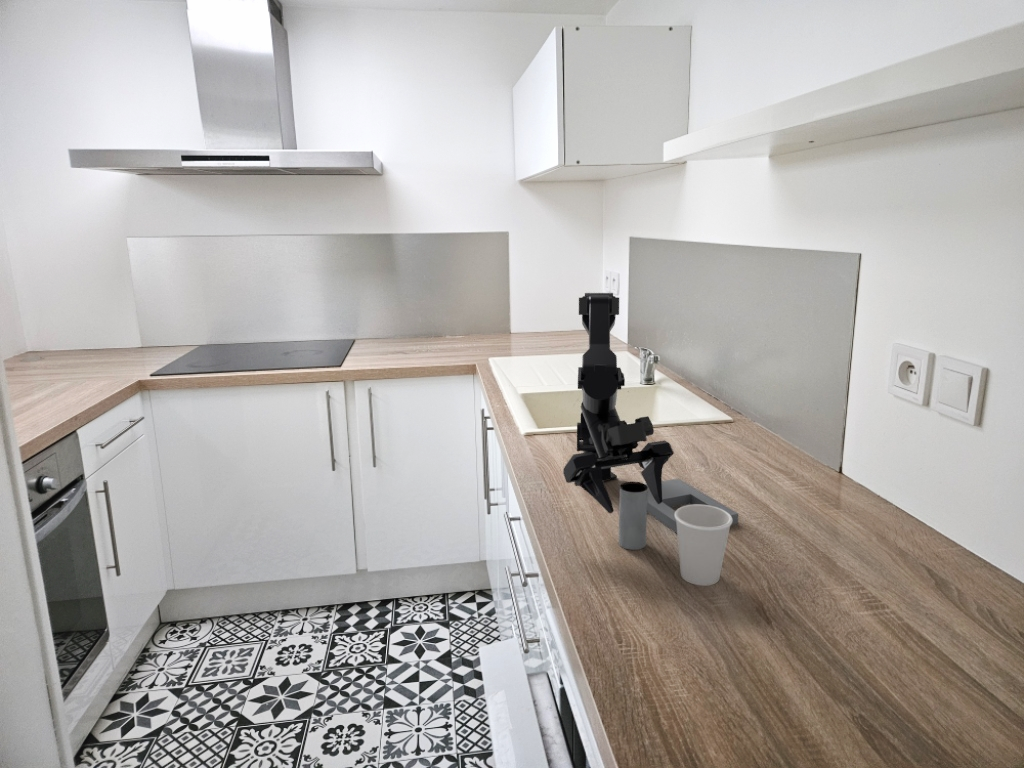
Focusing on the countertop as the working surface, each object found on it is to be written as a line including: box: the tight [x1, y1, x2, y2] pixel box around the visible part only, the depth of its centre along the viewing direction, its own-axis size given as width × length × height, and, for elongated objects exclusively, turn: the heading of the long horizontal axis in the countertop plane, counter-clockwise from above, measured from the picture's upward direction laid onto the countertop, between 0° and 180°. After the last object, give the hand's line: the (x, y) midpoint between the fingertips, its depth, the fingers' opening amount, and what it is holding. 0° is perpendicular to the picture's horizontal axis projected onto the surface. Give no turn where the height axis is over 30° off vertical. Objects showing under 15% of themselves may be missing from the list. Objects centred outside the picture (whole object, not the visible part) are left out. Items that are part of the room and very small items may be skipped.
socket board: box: [644, 477, 739, 534], centre depth 127 cm, size 18×12×2 cm, turn 22°
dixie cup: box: [674, 504, 733, 587], centre depth 103 cm, size 8×8×10 cm
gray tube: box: [618, 481, 648, 551], centre depth 113 cm, size 4×4×10 cm
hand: (636, 507), depth 112 cm, fingers open, 9 cm apart
